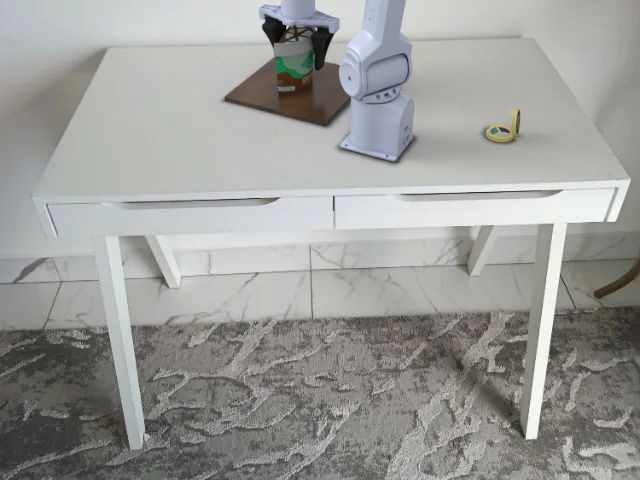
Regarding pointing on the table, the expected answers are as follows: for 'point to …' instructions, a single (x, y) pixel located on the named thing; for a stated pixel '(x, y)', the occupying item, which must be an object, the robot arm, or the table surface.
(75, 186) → the table surface
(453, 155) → the table surface
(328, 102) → the walnut board
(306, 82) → the food container
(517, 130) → the eyeshadow
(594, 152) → the table surface
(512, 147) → the table surface
